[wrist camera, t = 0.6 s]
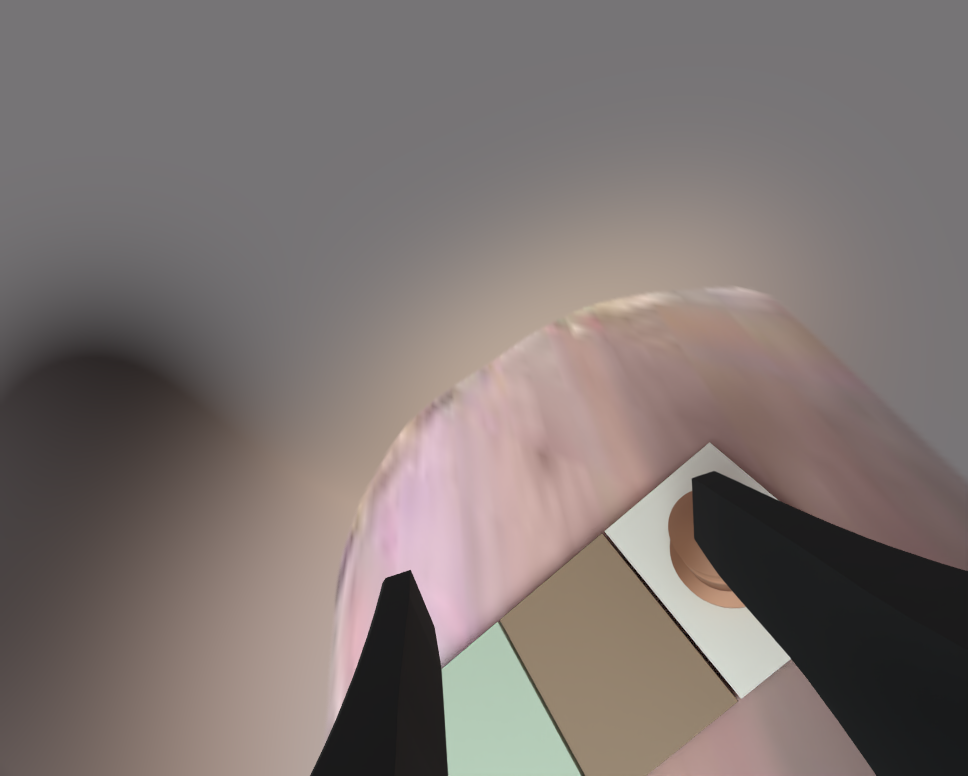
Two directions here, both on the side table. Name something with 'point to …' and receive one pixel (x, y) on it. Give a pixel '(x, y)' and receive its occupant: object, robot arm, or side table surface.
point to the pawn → (695, 559)
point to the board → (605, 658)
